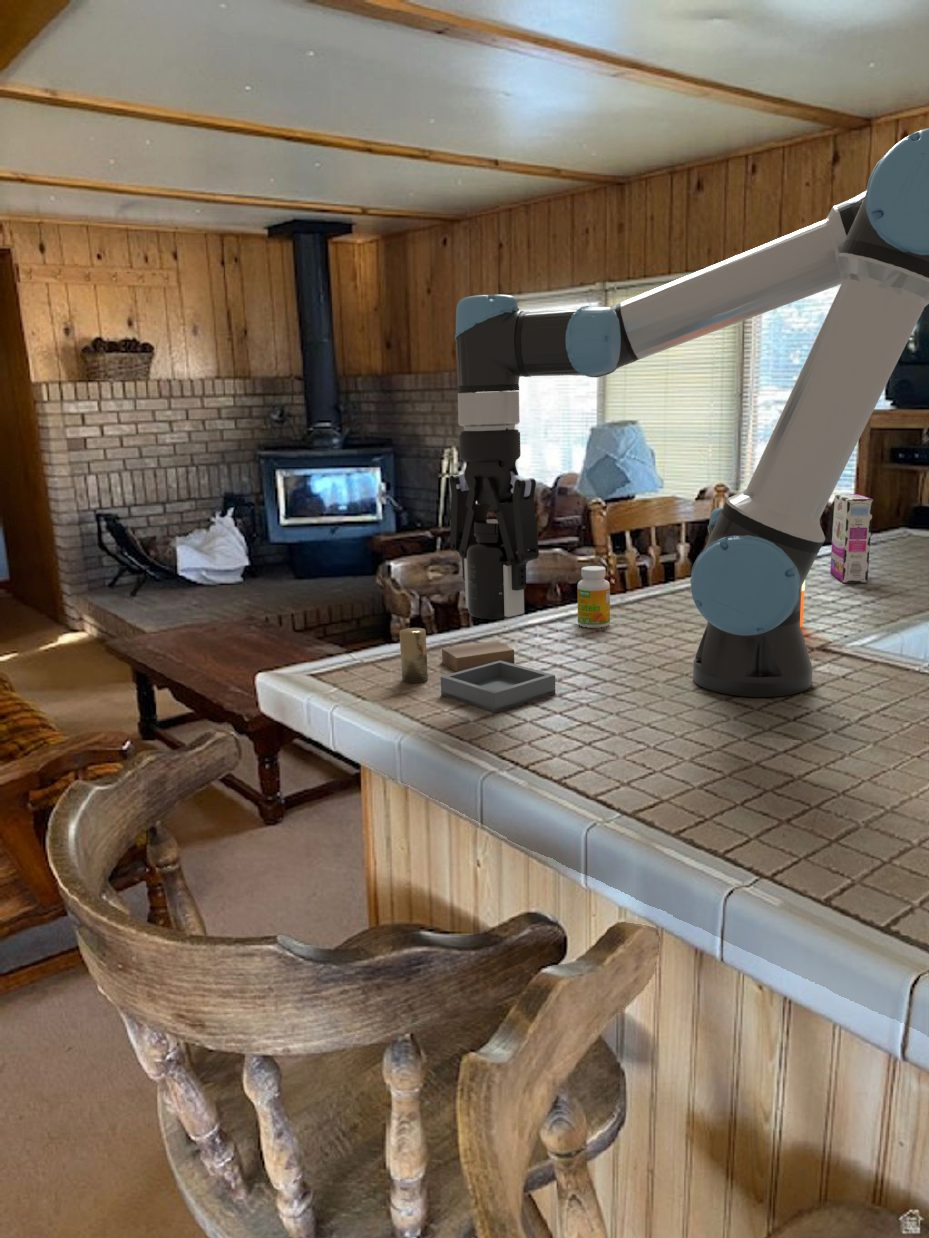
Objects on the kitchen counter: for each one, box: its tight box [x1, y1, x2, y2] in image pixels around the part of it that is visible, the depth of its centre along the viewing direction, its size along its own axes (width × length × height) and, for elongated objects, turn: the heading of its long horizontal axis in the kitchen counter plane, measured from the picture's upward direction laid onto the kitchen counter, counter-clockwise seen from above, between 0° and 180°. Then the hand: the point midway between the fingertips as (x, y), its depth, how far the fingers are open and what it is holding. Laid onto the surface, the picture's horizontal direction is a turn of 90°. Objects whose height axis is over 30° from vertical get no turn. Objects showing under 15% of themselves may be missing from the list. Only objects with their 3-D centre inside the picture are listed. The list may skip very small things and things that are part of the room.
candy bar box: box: [829, 493, 874, 584], centre depth 187 cm, size 11×5×16 cm, turn 172°
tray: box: [440, 660, 556, 713], centre depth 124 cm, size 11×11×2 cm
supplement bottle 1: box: [467, 518, 518, 620], centre depth 121 cm, size 7×7×12 cm
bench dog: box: [399, 627, 429, 684], centre depth 132 cm, size 4×4×7 cm
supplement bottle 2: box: [576, 565, 611, 629], centre depth 159 cm, size 5×5×10 cm
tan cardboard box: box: [441, 640, 515, 672], centre depth 139 cm, size 6×9×2 cm, turn 113°
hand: (494, 610), depth 122 cm, fingers closed on supplement bottle 1, 7 cm apart
